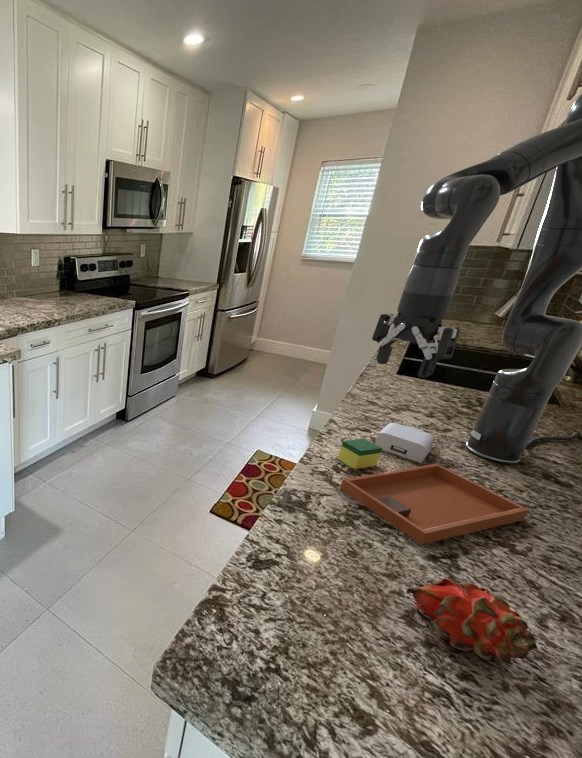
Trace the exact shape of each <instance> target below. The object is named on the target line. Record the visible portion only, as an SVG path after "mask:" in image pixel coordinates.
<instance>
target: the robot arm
mask: <svg viewBox="0 0 582 758" xmlns="http://www.w3.org/2000/svg"><path fill="white" fill-rule="evenodd" d="M553 170H555V173H554V178H553V182H552V186H551V190H550V193H549V195H548V200H547V204H546V207H545V210H544V213H543V216H542V219H541V220H540V221H541V222H540V225H539V228H538V230H537V234H536V236H535V240H534V244H533V248H532V252H531V256H530V259H529V263H528V266H527V270H526V272H525V276H524V279H523V281H522V284H521V287H520V289H519V293H518V295H517V298H516V299H515V302H514V304H513V306H512V308H511V311H510V313H509V316H508V318H507V320H506V323H505V325H504V327H503V331H502V335H501V346H502V347H503V349H504V350H505V351H506V352H508V353H512V354H515V355H518V356H519V355H520V356H524V357H527V358H530V359H532V361H531V362H530V364H529V365H528V366H527V367H525V368H504V369H500V370H499V371H497V373H496V375H495V377H494V379H493V382H492V384H491V386H490V388H489V391H488V394H487V395H486V398H485V400H484V403H483V405H482V407H481V410H480V412H479V415H478V417H477V420H476V421H475V424H474V426H473V428H472V431H471V433H470V436H469V438H468V440H467V442H466V443H465V448H466V449H467V450H468V451H469V452H471V453H472V454H475V455H477V456H478V457H481V458H484V459H486V460H489V461H493V462H496V463H501V464H508V465H515V464H516V465H517V464H519V463H520V461H521V459H522V456H523V454H524V452H525V450H526V448H527V447H530V446H532V445H533V444H534V443H536V442H538V441H573V440H575V439H576V438H580V437H581V433H580V432H579V431H575V432H573V434H571V435H569V436H537V437H533V438H531V437H532V436H533V434H534V431H535V429H536V427H537V425H538V423H539V421H540V419H541V417H542V415H543V413H544V411H545V409H546V406H547V405H548V402H549V400H550V399H551V396H552V394H553V392H554V390H555V388H556V387H557V386H558V385H559V384H560V383H561V382H562V380H563V379H564V377H565V376H566V374H567V372H568V370H569V368H570V366H571V365H572V363H573V361H574V360H575V358H576V356H577V355H578V353H579V351H580V349H581V348H582V322H581V321H579V320H576V319H571V318H565V317H559V316H554V315H547V314H546V313H547V309H548V306H549V304H550V302H551V300H552V298H553V296H554V295H555V293H556V292H557V291H558V290H559V289H560V288H561V287H562V286H563V285H564V284H566V282H568V281H569V280H570V279H572V278H573V277H574V276H575V275H576V274H577V273H580V271H582V93H580V94H579V95H578V96H577V98H576V99H575V100H574V102H573V103H572V104H571V107H570V109H569V111H568V113H567V115H566V118H565V121H564V125H561V126H558V127H555V128H552V129H549V130H547V131H544V132H541V133H538V134H536V135H534V136H532V137H529V138H527V139H525V140H522V141H520V142H518V143H516V144H514V145H512V146H510V147H509V148H507V149H505V150H503V151H501V152H500V153H497V154H496V155H494V156H492V157H491V158H490V159H487V160H485V161H483V162H480V163H476V164H474V165H471V166H469V167H466V168H463V169H460V170H458V171H456V172H453V173H450V174H448V175H446V176H444V177H442V178H440V179H439V180H437V181H436V182H434V183H433V184H432V185H431V186H430V187H429V188H428V189H427V190H426V192H425V193H424V195H423V197H422V199H421V206H420V207H421V210H422V212H423V214H424V215H425V216H426V217H428V218H431V219H435V220H449V222H448V223H447V224H446V225H445V227H444V228H443V229H442V230H441V231H438V232H433V233H429V234H426V235H425V236H424V237H422V239H421V240H420V242H419V245H418V248H417V251H416V254H415V257H414V260H413V265H412V266H411V269H410V271H409V273H408V275H407V277H406V281H405V284H404V286H403V290H402V294H401V296H400V299H399V303H398V306H397V310H396V311H397V314H396V315H394V313H382V314H380V315H379V318H378V321H377V324H376V326H375V329H374V330H373V331H374V332H373V334H372V336H371V340H372V341H373V342H376V343H378V345H379V348H378V351H377V354H376V362H377V364H379V365H385V364H388V363H389V360H390V357H391V353H392V351H393V348H394V347H393V345H394V344H396V342H399V341H407V342H409V343H411V344H414V345H418V348H419V349H420V350H421V351H422V353H423V355H424V358H422V361H421V365H420V367H419V369H418V373H417V377H419V378H423V379H425V378H429V376H432V375H433V374H434V371H435V369H436V367H437V363H438V361H439V360H450V359H452V357H453V355H454V353H455V349H456V345H457V343H458V339H459V336H460V332H461V329H460V328H459V327H447V326H443V320H444V319H445V317H446V315H447V312H448V310H449V307H450V304H451V301H452V299H453V296H454V294H455V291H456V288H457V285H458V282H459V277H460V273H461V268H462V266H463V263H464V260H465V257H466V256H467V251H468V250H469V246H470V245H471V243H473V241H474V239H475V238H476V236H477V235H478V233H479V232H480V230H481V229H482V228H483V226H484V225H485V223H486V222H487V220H488V219H489V217H490V216H491V215H492V214H493V212H494V210H495V209H496V207H497V205H498V203H499V201H500V199H501V196H503V195H507V194H509V193H511V192H513V191H516V190H518V189H519V188H522V187H523V186H525V185H526V184H529V183H530V182H532V181H534V180H536V179H538V178H539V177H541V176H543V175H545V174H547V173H549V172H551V171H553ZM392 325H393V327H394V329H392V330H391V331H390V329H391V326H392ZM389 331H390V332H389ZM438 335H439V336H438ZM436 336H438V337H439V338H440V341H439V342H438V340H437V337H436Z"/></svg>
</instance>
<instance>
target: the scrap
mask: <svg viewBox="0 0 582 758" xmlns="http://www.w3.org/2000/svg"><path fill="white" fill-rule="evenodd" d="M377 499H378V500H379V501H381V502H382V503H384V504H385V505H387V506H388V507H390V508H391V509H393V510H394V511H396V512H398V513H399V514H401V515H402V516H404V517H406V516H409V515H410V512H411V509H410V508H409V507H407V506H405V505H404V504H402V503H401V502H399V501H398V500H396V499H394V498H393V497H391V496H388V497H383V498H377Z"/></svg>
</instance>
